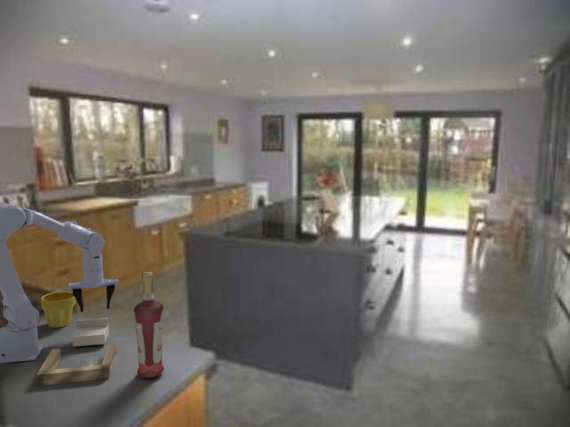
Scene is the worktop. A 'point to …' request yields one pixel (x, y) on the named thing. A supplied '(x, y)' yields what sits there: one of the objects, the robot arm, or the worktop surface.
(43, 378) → the wooden u-shaped frame
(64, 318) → the plant pot
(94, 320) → the grey l-shaped bracket
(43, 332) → the worktop surface
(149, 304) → the liquor
